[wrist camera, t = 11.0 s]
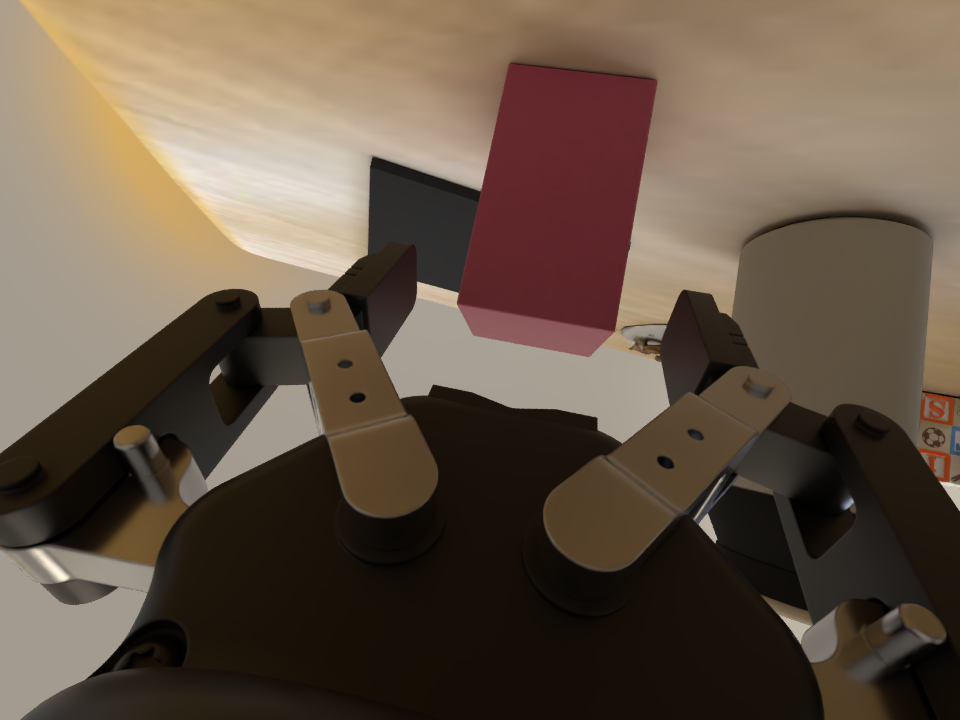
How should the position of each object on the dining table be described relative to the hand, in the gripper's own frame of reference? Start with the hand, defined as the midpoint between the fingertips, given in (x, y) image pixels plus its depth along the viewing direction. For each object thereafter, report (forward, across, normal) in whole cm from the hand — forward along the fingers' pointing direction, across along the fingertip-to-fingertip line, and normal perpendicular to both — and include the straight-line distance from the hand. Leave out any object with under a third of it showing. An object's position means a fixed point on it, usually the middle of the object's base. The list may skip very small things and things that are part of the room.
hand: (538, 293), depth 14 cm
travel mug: (+14, -14, +2) cm, 20 cm away
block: (+8, 0, -4) cm, 9 cm away
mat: (+20, +6, +8) cm, 23 cm away
